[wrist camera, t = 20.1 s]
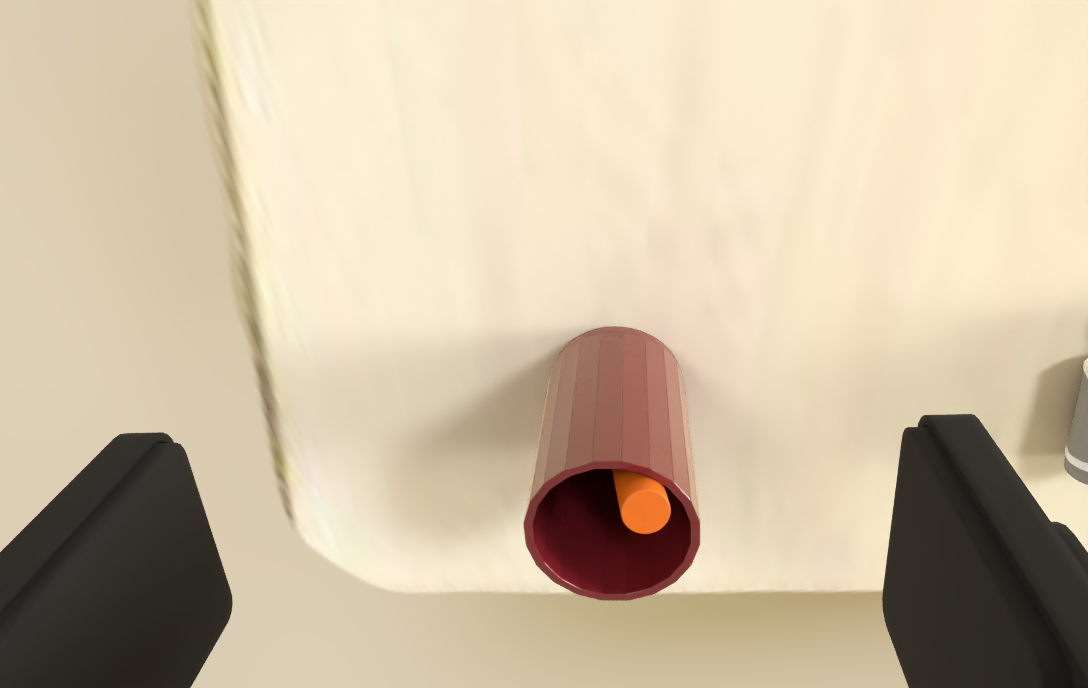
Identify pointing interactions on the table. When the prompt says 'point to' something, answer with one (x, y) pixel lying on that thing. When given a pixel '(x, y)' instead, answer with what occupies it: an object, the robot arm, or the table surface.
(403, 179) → the table surface
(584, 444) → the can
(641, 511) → the solid orange cylinder
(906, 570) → the robot arm
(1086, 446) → the binoculars
